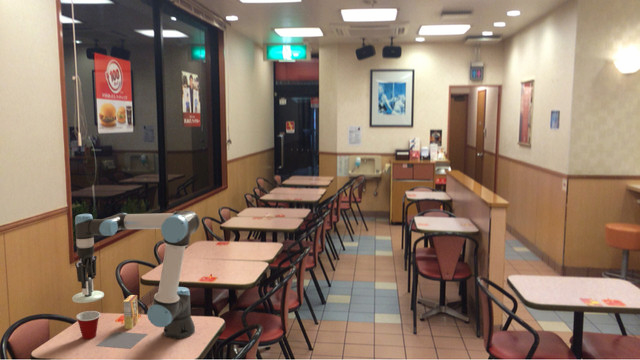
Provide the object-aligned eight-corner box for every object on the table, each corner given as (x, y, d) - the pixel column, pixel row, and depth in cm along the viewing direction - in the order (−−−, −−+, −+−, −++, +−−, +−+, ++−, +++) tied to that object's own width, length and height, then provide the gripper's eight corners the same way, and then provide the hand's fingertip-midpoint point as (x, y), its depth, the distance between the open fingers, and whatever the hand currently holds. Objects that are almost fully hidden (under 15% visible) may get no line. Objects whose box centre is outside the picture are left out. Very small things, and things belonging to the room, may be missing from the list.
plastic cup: (92, 343, 237) (90, 319, 236) (72, 341, 240) (71, 318, 238) (106, 334, 248) (105, 311, 246) (87, 332, 250) (85, 309, 249)
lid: (109, 293, 247) (108, 274, 245) (92, 303, 233) (91, 283, 232) (84, 291, 249) (83, 272, 248) (65, 301, 235) (64, 281, 234)
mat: (148, 335, 246) (148, 334, 246) (130, 350, 231) (130, 348, 231) (115, 332, 249) (115, 331, 249) (95, 347, 234) (95, 345, 234)
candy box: (131, 322, 261) (129, 294, 259) (139, 322, 261) (137, 294, 259) (124, 329, 253) (122, 301, 251) (132, 329, 253) (131, 301, 251)
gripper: (89, 241, 246) (91, 287, 249) (66, 250, 230) (69, 298, 233) (102, 242, 245) (105, 288, 248) (81, 251, 229) (84, 299, 232)
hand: (88, 293), depth 241 cm, fingers closed on lid, 3 cm apart
